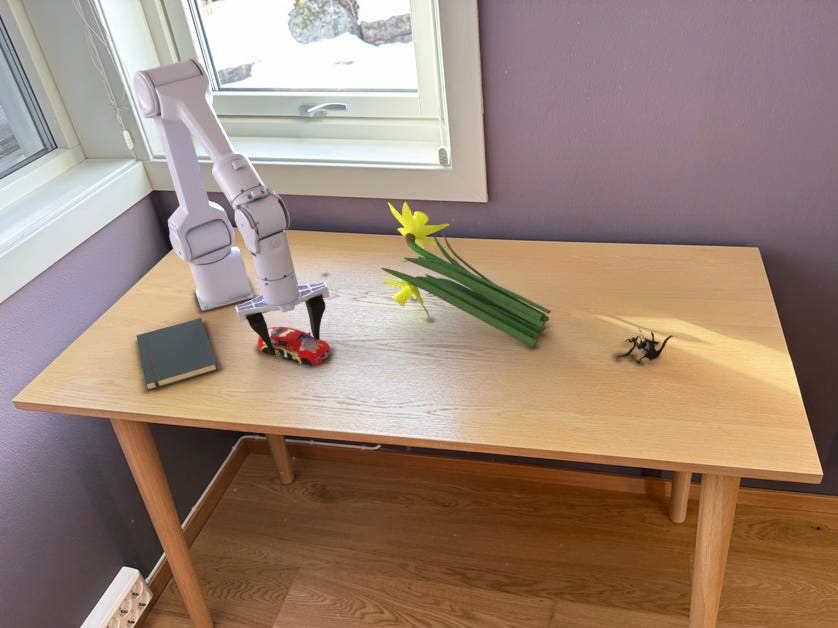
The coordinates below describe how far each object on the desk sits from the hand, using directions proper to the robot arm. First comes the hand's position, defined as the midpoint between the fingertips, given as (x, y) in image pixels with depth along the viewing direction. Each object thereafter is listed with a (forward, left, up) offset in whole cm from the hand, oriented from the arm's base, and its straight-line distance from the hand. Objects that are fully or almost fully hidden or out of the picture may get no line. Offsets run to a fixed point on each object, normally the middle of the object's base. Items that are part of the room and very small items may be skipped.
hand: (293, 343), depth 126 cm
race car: (0, -1, -3) cm, 3 cm away
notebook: (+18, -9, -2) cm, 21 cm away
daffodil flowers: (-30, +4, -2) cm, 30 cm away
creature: (-49, +29, -2) cm, 57 cm away
